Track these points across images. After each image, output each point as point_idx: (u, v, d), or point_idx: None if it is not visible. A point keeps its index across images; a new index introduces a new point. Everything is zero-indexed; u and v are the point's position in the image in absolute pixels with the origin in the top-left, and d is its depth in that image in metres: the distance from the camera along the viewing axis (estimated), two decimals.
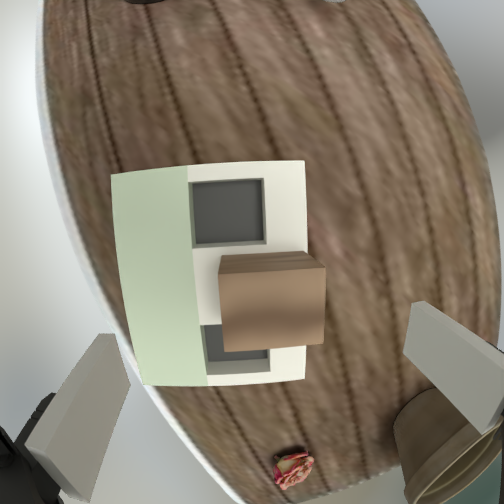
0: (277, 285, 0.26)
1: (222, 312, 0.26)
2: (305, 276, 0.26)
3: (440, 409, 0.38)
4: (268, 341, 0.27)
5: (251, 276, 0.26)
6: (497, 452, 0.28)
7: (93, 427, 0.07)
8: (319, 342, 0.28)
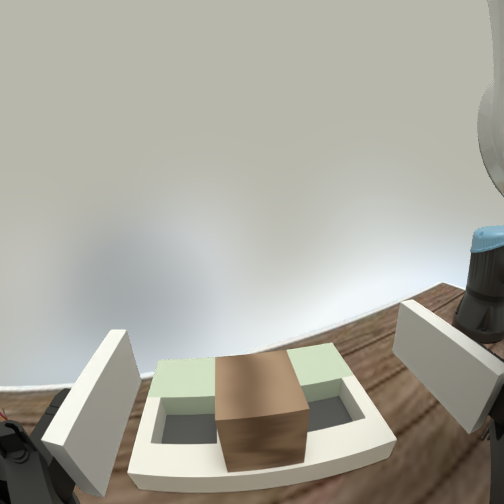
0: (283, 379, 0.26)
1: (253, 354, 0.31)
2: (296, 395, 0.23)
3: None
4: (223, 380, 0.26)
5: (288, 365, 0.28)
6: None
7: (107, 421, 0.07)
8: (216, 417, 0.21)
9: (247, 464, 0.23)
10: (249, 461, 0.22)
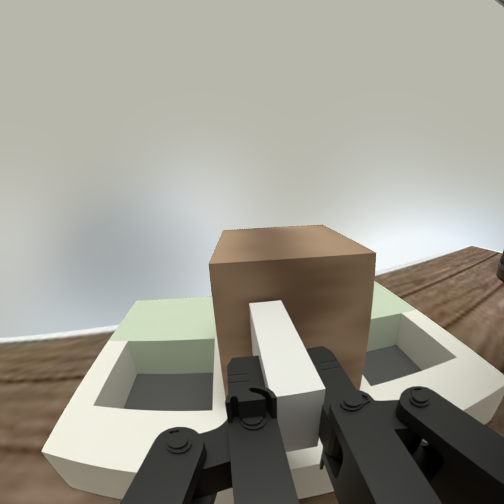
0: (324, 237, 0.18)
1: (277, 227, 0.23)
2: (348, 245, 0.15)
3: None
4: (232, 239, 0.18)
5: (328, 230, 0.20)
6: None
7: None
8: (212, 261, 0.13)
9: None
10: None
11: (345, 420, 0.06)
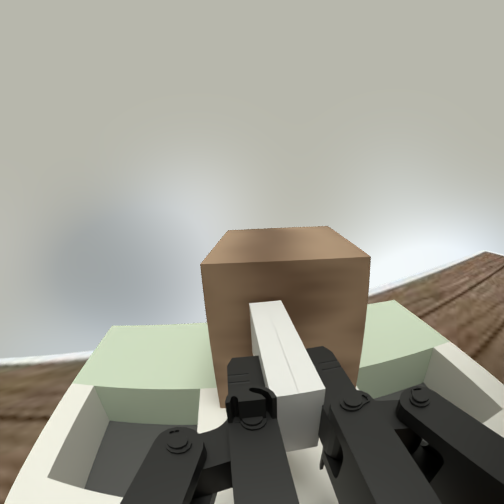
0: (323, 239, 0.17)
1: (281, 228, 0.23)
2: (345, 248, 0.15)
3: None
4: (232, 240, 0.19)
5: (331, 232, 0.20)
6: None
7: None
8: (205, 261, 0.14)
9: None
10: None
11: (345, 420, 0.06)
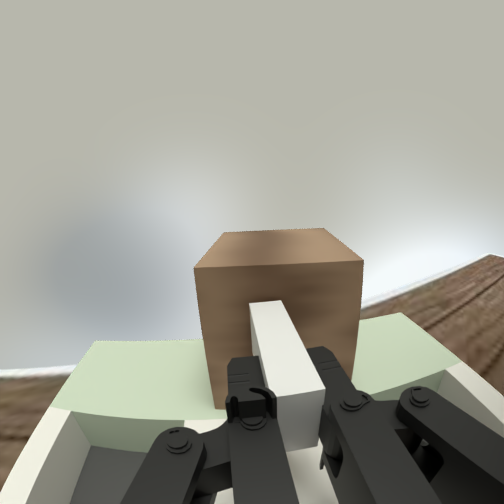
0: (318, 242, 0.17)
1: (277, 230, 0.23)
2: (339, 251, 0.15)
3: None
4: (227, 242, 0.19)
5: (326, 234, 0.20)
6: None
7: None
8: (198, 265, 0.14)
9: None
10: None
11: (345, 420, 0.06)
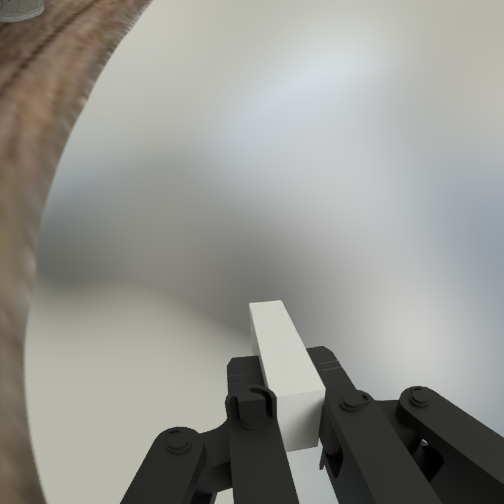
0: None
1: None
2: None
3: None
4: None
5: None
6: None
7: None
8: None
9: None
10: None
11: (345, 420, 0.06)
